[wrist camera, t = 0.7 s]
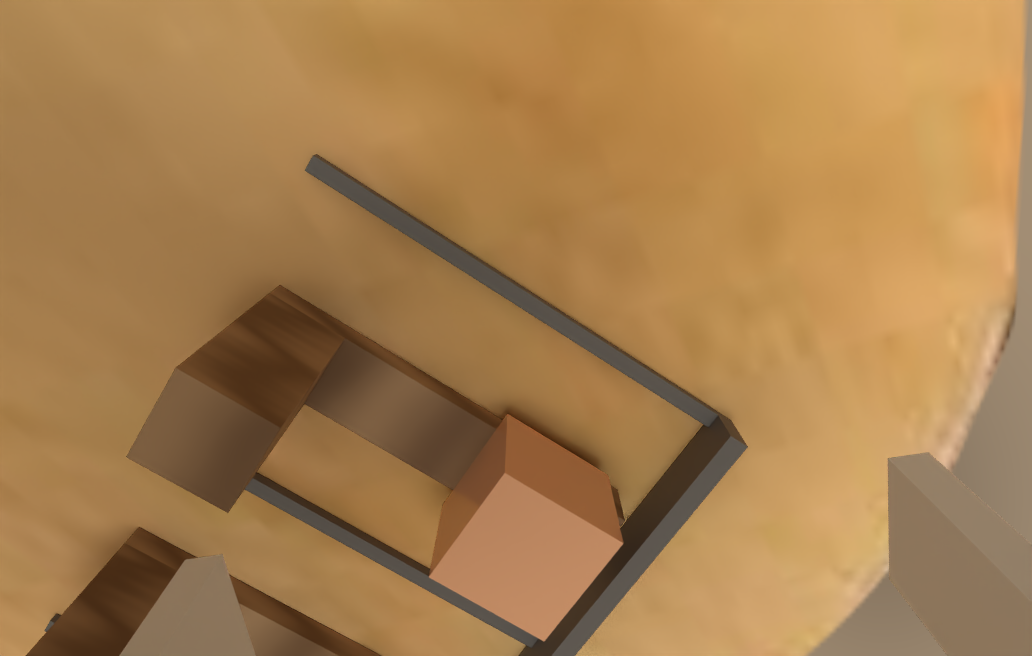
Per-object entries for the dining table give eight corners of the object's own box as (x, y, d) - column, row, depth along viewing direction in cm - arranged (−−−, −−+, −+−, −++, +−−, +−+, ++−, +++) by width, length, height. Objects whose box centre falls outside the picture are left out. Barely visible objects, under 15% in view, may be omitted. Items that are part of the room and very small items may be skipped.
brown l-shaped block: (241, 350, 38) (126, 457, 27) (279, 285, 37) (175, 367, 26) (573, 545, 41) (592, 712, 30) (617, 489, 40) (653, 641, 29)
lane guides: (50, 623, 42) (16, 662, 40) (316, 154, 35) (298, 159, 32) (417, 806, 46) (410, 854, 43) (730, 420, 38) (747, 446, 36)
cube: (442, 504, 38) (428, 577, 33) (507, 413, 37) (504, 472, 31) (541, 561, 39) (544, 641, 34) (608, 475, 38) (623, 543, 32)
